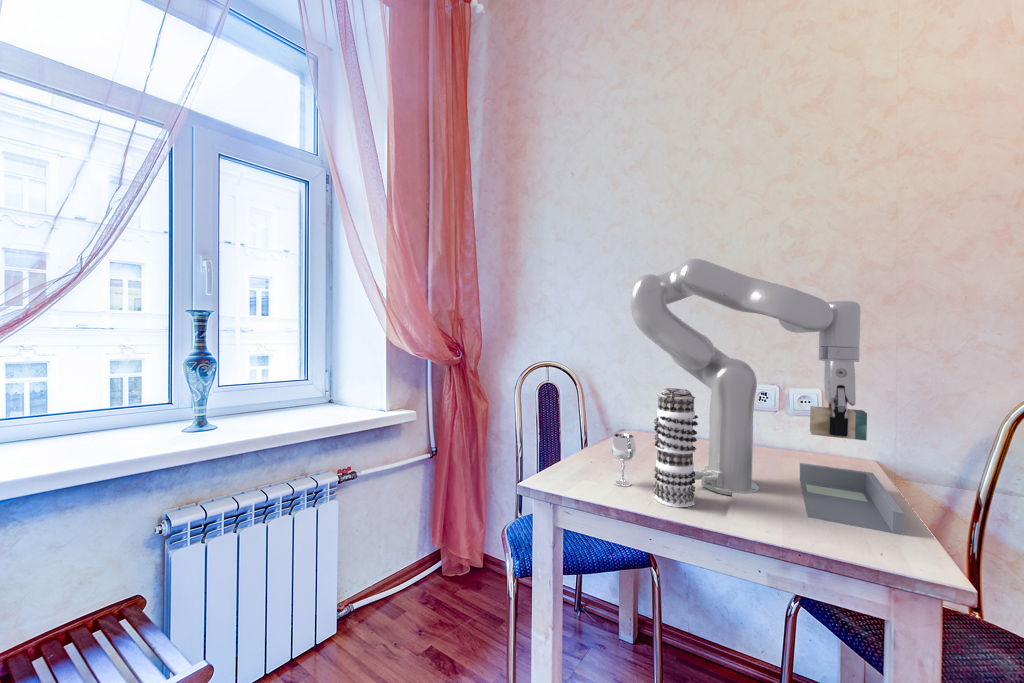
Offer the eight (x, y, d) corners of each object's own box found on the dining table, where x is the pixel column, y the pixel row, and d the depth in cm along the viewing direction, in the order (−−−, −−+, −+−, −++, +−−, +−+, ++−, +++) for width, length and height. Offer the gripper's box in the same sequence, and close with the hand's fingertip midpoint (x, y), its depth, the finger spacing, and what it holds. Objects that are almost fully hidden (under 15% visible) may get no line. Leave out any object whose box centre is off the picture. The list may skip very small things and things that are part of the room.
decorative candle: (705, 507, 93) (708, 392, 93) (667, 510, 91) (669, 392, 91) (680, 492, 102) (682, 386, 102) (645, 494, 100) (647, 387, 100)
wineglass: (609, 485, 106) (610, 437, 106) (612, 478, 111) (613, 432, 111) (633, 489, 104) (634, 439, 104) (636, 481, 109) (636, 434, 109)
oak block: (811, 434, 100) (812, 409, 100) (809, 430, 105) (810, 406, 105) (866, 440, 95) (867, 413, 95) (862, 436, 100) (863, 410, 99)
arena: (903, 540, 79) (904, 513, 79) (807, 521, 86) (808, 497, 86) (872, 493, 103) (872, 472, 103) (799, 482, 110) (799, 462, 110)
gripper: (866, 356, 91) (864, 442, 91) (853, 354, 105) (851, 428, 105) (822, 355, 94) (820, 438, 95) (815, 353, 109) (814, 424, 109)
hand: (836, 432), depth 100 cm, fingers closed on oak block, 5 cm apart
